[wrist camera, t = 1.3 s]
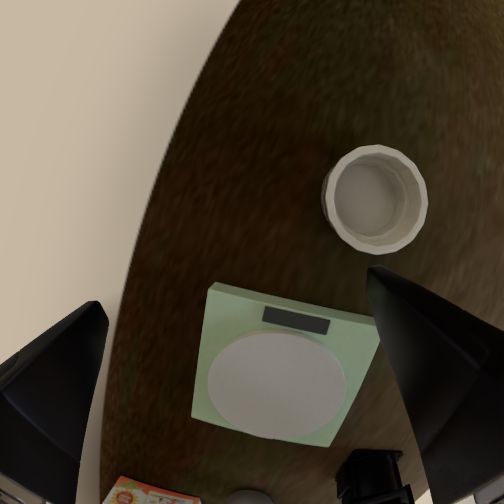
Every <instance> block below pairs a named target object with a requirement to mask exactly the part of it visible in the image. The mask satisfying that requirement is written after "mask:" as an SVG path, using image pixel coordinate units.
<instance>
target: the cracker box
mask: <svg viewBox="0 0 504 504" xmlns="http://www.w3.org/2000/svg"><path fill="white" fill-rule="evenodd" d="M102 504H201V501H200V498H198V497H193V496H188V495H184V494H180V493H176V492H172V491H168V490H164V489H161V488H157V487H154V486H151V485H148V484H144V483H141V482H138V481H135V480H133V479H130V478H127V477H124V476H120V478H119V479H118V481H117V482H116V484H115V485H114V487H113V488H112V490H111V491H110V493H109V494H108V496H107V497H106V499H105V500H104V502H103V503H102Z"/></svg>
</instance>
